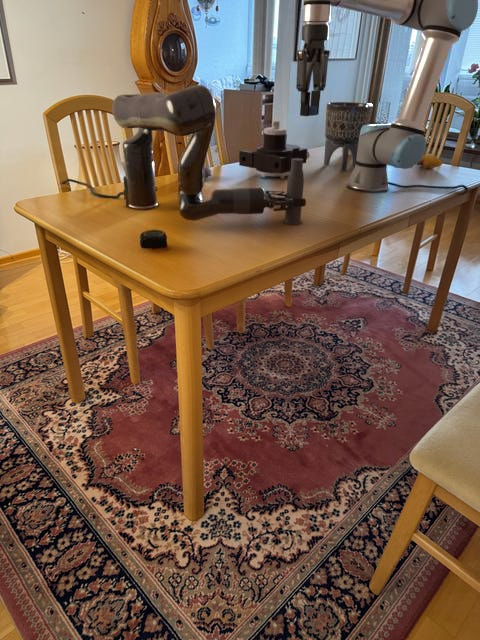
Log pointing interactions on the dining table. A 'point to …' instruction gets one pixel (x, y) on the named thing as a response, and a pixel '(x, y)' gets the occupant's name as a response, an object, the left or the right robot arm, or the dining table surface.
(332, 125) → the planter
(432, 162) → the toy
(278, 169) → the mechanical component
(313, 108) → the cap
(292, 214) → the bottle
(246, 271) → the dining table surface
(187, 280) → the dining table surface
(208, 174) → the rock
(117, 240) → the dining table surface
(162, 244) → the tape measure
